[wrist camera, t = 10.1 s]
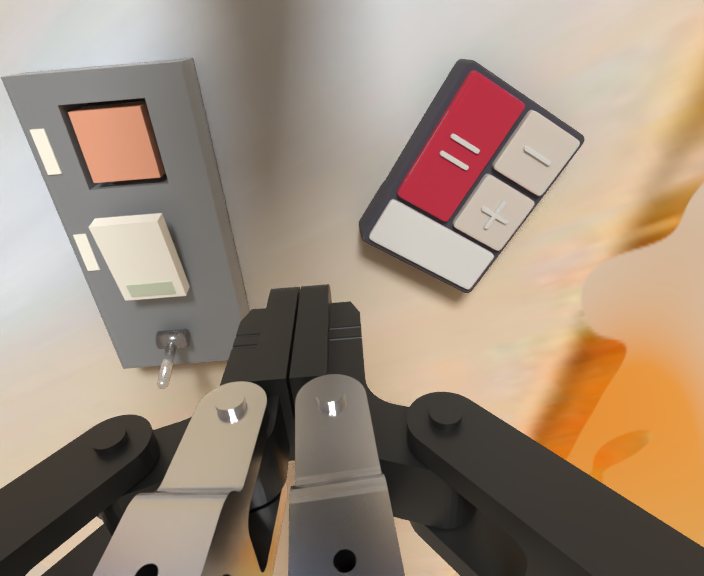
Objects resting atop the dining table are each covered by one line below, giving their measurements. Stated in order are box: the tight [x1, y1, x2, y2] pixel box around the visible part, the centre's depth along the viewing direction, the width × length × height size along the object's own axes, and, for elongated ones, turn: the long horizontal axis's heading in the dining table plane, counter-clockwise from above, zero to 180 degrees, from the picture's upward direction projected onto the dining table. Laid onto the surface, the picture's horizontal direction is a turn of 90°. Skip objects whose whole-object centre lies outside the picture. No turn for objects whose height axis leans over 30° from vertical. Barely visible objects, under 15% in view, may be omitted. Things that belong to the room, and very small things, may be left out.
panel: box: [1, 58, 250, 369], centre depth 38 cm, size 25×12×4 cm, turn 4°
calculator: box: [359, 59, 584, 293], centre depth 37 cm, size 11×4×15 cm
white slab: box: [89, 213, 190, 301], centre depth 36 cm, size 7×5×1 cm
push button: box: [68, 101, 166, 183], centre depth 34 cm, size 5×5×3 cm
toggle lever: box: [156, 329, 190, 389], centre depth 39 cm, size 2×2×6 cm
